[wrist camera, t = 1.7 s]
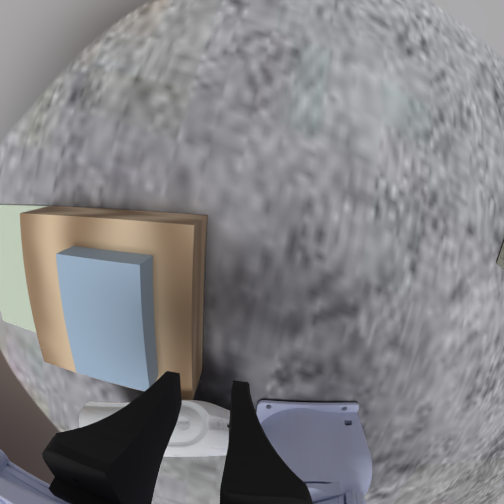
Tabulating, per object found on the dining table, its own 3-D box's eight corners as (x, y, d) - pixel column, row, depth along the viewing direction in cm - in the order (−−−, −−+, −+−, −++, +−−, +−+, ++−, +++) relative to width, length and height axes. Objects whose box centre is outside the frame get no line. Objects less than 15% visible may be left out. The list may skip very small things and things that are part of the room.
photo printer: (75, 443, 17) (224, 451, 15) (78, 395, 19) (219, 389, 18) (141, 456, 24) (257, 454, 23) (140, 420, 27) (252, 413, 26)
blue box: (152, 255, 17) (139, 264, 15) (158, 375, 20) (150, 392, 18) (73, 245, 17) (55, 253, 15) (88, 358, 20) (76, 372, 18)
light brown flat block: (207, 215, 21) (194, 225, 17) (202, 370, 24) (192, 400, 20) (50, 205, 21) (19, 213, 17) (66, 340, 24) (44, 361, 20)
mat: (50, 205, 21) (48, 206, 21) (66, 340, 24) (64, 341, 24) (-12, 204, 21) (-14, 204, 21) (4, 319, 24) (3, 320, 24)
